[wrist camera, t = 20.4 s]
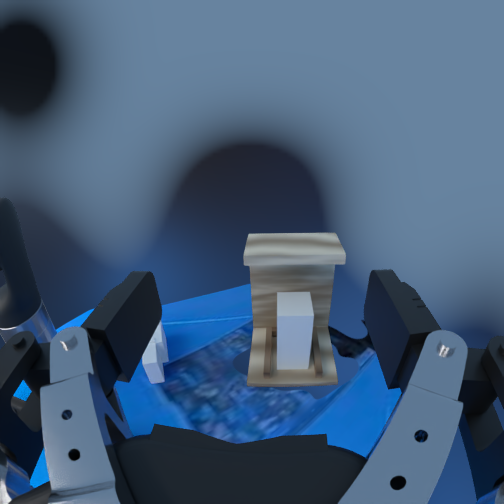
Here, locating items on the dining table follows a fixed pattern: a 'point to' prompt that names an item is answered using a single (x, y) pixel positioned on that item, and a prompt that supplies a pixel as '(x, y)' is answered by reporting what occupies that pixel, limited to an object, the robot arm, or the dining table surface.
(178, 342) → the dining table surface
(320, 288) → the brown wooden upright stand
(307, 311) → the pale elongated brick
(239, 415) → the dining table surface
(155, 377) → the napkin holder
